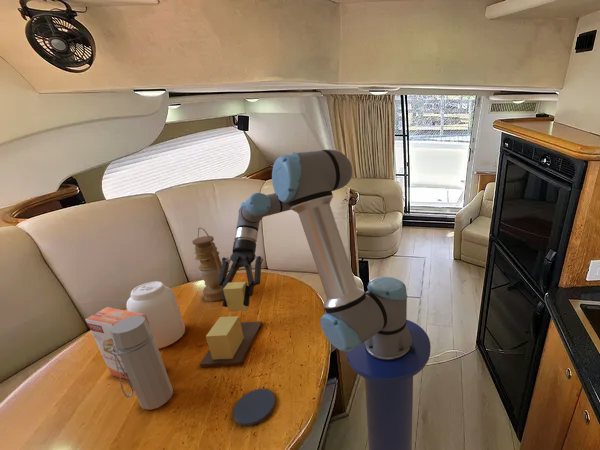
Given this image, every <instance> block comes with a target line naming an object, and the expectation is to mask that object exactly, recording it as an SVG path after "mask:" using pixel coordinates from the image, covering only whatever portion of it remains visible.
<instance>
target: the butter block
mask: <svg viewBox="0 0 600 450" xmlns="http://www.w3.org/2000/svg"><path fill="white" fill-rule="evenodd" d="M240 322H241V319H240V315H236V316H235V315H232V316H220V317H218V319H217V320H216V322H215V323H214V324H213V325H212V327H211V328H210V330H209V331H208V332H207V334H206V335H205V338H206V342H207V345H208V349H209V350H210V353H211V356H212V360H215V359H233V357H234V355H235V353H236V352H237V350H238V348H239V346H240V344H241V343H242V341H243V339H244V336H243V332H242V327H241V323H240Z"/></svg>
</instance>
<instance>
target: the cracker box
mask: <svg viewBox="0 0 600 450" xmlns="http://www.w3.org/2000/svg"><path fill="white" fill-rule="evenodd" d="M133 316H143V317H144V318H145V320H146V322H147V324H148V325H149V322H148V320H147V317H146V315H145V314H140V313H135V312H130V311H128V310H125V309H121V308H120V309H119V308H114V307H110V306H106V307H104V308H102V309H100V310H99V311H98V312H96V313H93V314H92V315H90V316H88V317H87V318H85V322H86V324H87V326H88V328H89V331H90V333H91V335H92V337H93V339H94V342H95V343H96V345H97V347H98V350H99V352H100V354H101V356H102V358H103V360H104V362H105V365H106V367H107V369H108V371H109V373H110V375H111V376H112V377H117V378H119V374H120V378H121V379H124V380H127V379H126V377H125V375H124V373H123V371H122V369H121V367H120V365H119V363H118V360H119V362H120V364H121V366H122V368H123V370H124V372H125V374H126V376H127V378H128V380H129V381H130V379H129V377H128V375H127V372H126V370H125V368H124V365H123V363H122V361H121V358H120V356H119V354H117V355H116V356H117V358H118V360H117V358H116V361H117V365H118V370H119V374H118V370H117V365H116V361H115V357H116V356H114V355H113V353H112V352H111V351H110V348H112V347H113V346H114V343H113V340H112V336H111V332H110V329H111V328H112V326H113V325H114V324H116V323H117V322H119V321H121V320H123V319H126V318H128V317H133ZM149 327H150V325H149ZM150 329H151V328H150ZM154 339H155V338H154ZM155 342H156V341H155ZM114 349H115V351H116V353H118V351H117V349H116V347H114ZM158 350H159V353H160V354H161V352H160V348H159V349H158ZM161 358H162V356H161ZM162 361H163V364H164V366H165V363H164V360H163V358H162ZM165 369H166V370H167V368H166V366H165Z"/></svg>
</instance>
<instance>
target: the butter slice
mask: <svg viewBox="0 0 600 450" xmlns="http://www.w3.org/2000/svg"><path fill="white" fill-rule="evenodd" d="M246 286H248V282H247V281H236V282H235V281H234V282H233V281H232V282H231V283H228V284H227V285H226V286H225V287H224V289H223V291H224V295H225V299H226V303H227V307H226V308H227V311H228V312H245V311H246V312H247V311H248V309H249V307H250V306H251V298H250V299H249V306H245V305H243V302H244V295H245V288H246Z"/></svg>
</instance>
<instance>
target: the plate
mask: <svg viewBox="0 0 600 450" xmlns="http://www.w3.org/2000/svg"><path fill="white" fill-rule="evenodd" d="M275 406H276V398H275V395H274V393H273V391H271V390H269V389H266V388H257V389H254V390H251V391H249V392H247V393H245V394H244V395H242V397H240V398H239V399H238V400H237V401H236V403H235V405H234V407H233V410H232V416H233V417H232V418H233V420H234V422H235V423H236V424H237V425H238V426H242V427H251V426H254V425H255V426H256V425H257V424H260V423H261V422H263V421H265V420H266V419H267V418H268V417H269V416H270V415H271V413H272V412H273V410H274V408H275Z"/></svg>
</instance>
